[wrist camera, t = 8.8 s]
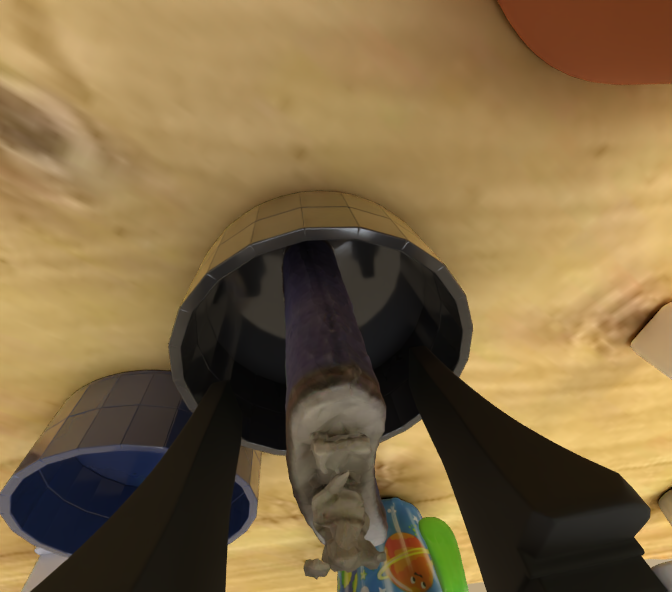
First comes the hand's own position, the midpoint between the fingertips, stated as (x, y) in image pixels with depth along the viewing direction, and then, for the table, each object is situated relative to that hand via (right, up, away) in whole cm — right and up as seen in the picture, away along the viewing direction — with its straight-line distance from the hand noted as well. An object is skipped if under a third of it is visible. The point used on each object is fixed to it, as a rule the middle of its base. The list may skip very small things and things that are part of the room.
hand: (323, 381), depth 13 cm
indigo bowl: (-10, -6, +8) cm, 14 cm away
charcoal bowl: (0, +3, +4) cm, 5 cm away
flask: (0, +2, +4) cm, 5 cm away
